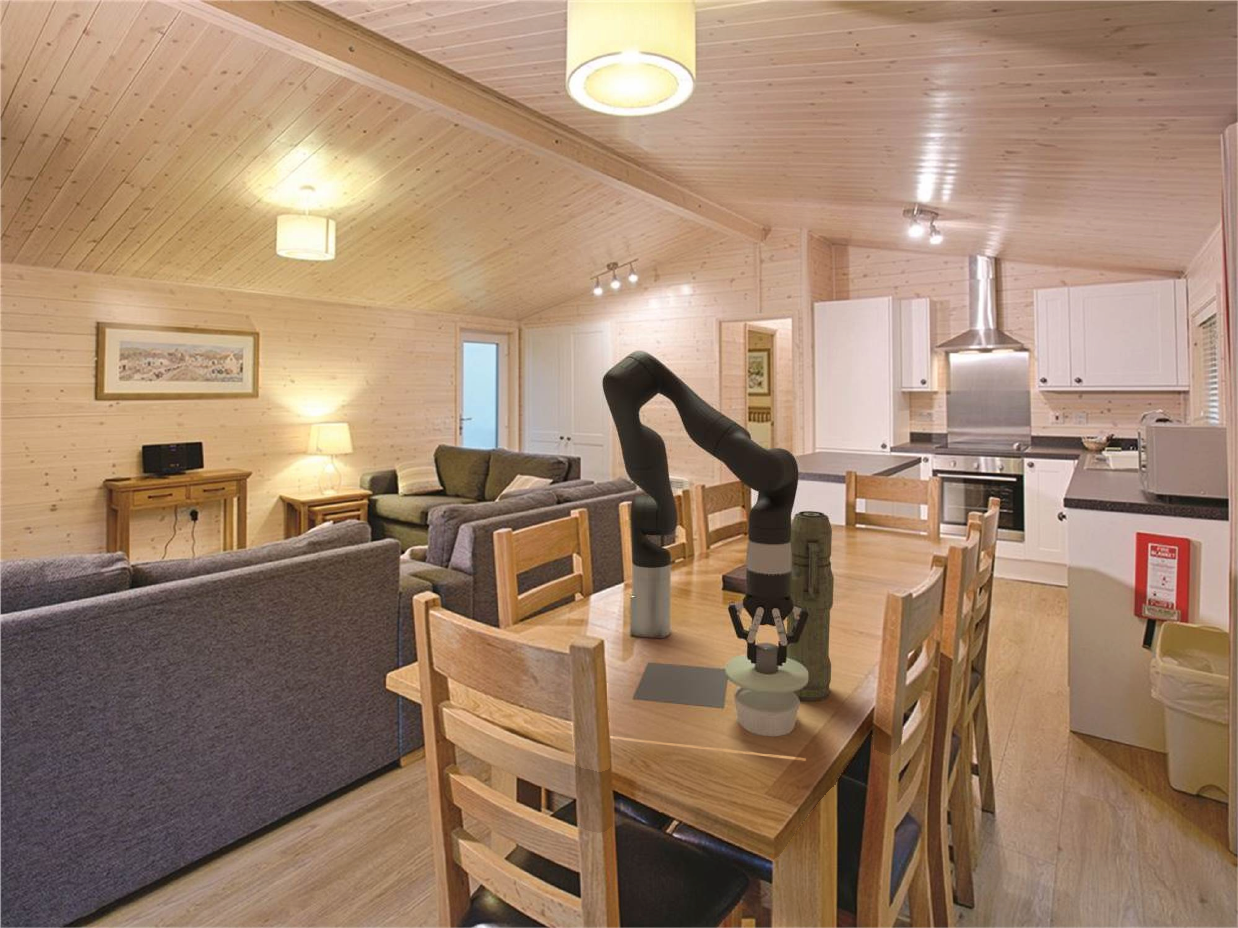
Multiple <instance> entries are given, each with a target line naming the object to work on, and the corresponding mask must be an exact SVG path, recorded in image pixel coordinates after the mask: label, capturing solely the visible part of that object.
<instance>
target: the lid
mask: <svg viewBox="0 0 1238 928" xmlns="http://www.w3.org/2000/svg"><path fill="white" fill-rule="evenodd" d="M724 666H725V668H724V669H725V674H726V677H727V678H728V680H729V681H730V683H732V684H734V685H736V686H738V688H740V687H742V688H744V689H748V690H751V691H755V692H761V693H771V694H780V693H789V692H794V691H797V690H800V689H802V688H803V687H805V686H806V685H807V683H808V671H807V669H806V668H805V667H804V666H803V665H802V664H800V663H799V662H797V661H795V660H792V659H789V658H787V661H786V663H782V666H778V644H774V643H769V642H758V643H757V644H756V643H755V664H752V663H751V660H748V658H747V653H745V654H741V655H736V656H734V657H732V658H730V659H729V660H728V661H727V662H726V663H725V665H724Z"/></svg>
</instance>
